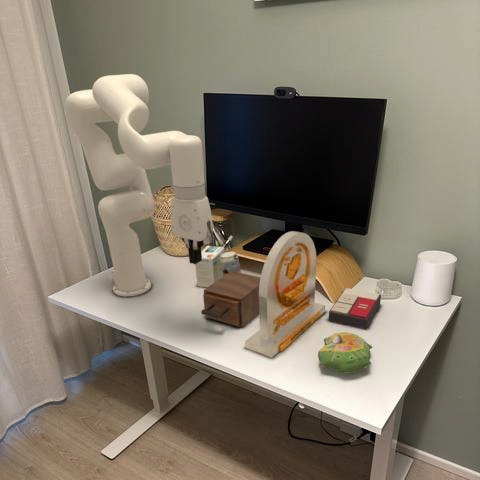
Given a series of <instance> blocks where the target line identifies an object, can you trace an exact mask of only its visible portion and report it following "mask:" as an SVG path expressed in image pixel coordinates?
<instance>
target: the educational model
mask: <svg viewBox="0 0 480 480" xmlns="http://www.w3.org/2000/svg"><path fill="white" fill-rule="evenodd" d="M323 342H324V343H323V344H324V346H323V347H322V348H320V349H319V350H318V354H317V357H318V361H319V365H320V366H322V367H324V368H326V369H330V370H332V371H336V372H339V373H345V374H350V373H357V372H360V371H362V370H364V369H365V368H367V367H368V366H370V365H371V364H372V361H371V356H372V354H371V349H372V348H373V346H372V345H371V344H369V343H368V342H367V341H366V340H365V339H364V338H362V337H361V336H359V335H357V334H354V333H351V332H347V331H344V332H336V333H334V334H331V335H330V336H328V337H325V338H323Z"/></svg>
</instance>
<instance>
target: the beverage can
mask: <svg viewBox="0 0 480 480" xmlns="http://www.w3.org/2000/svg"><path fill="white" fill-rule="evenodd" d="M220 264H221V268H222V273H223V276H225V275H226V274H228V273H229V272H230V271H234V272H239V273H242V269H241V264H240V259H239V255H238V254H237V253H236V252H235V251H226V252H225V253H223V254H222V255H221V258H220Z"/></svg>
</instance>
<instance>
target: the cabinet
mask: <svg viewBox="0 0 480 480" xmlns="http://www.w3.org/2000/svg"><path fill="white" fill-rule="evenodd" d="M260 278H261V276H258V275H257V276H256V275H252V274H249V273H243V272H241V273H239V272H234V271H230V272H229V273H228V274H226V275H225V276H223V277H222V278H220V279H219V280H217V281H216V282H214V283H213V284H212V285H210V286H209V287H205V288H203V295H204V294H205V293H207V294H213V295H217V296H221V297H225V298H229V299H233V300H237V301H239V306H240V325H239V326H237V327H238V328H244V327H245V326H246V325H247V324H249V322H251V321H252V320H253V319H254V318H255V317H256V316H258V315H259V285H260ZM209 319H211V318H209ZM211 320H212V319H211ZM216 321H217V322H219V321H218V320H216ZM223 323H224V324H226V323H225V322H223ZM230 325H231V326H233V325H232V324H230Z"/></svg>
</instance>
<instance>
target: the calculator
mask: <svg viewBox="0 0 480 480" xmlns="http://www.w3.org/2000/svg"><path fill="white" fill-rule="evenodd" d="M381 299H382V295H381V294H380V293H376V292H372V291H371V292H370V291H365V290H359V289H355V288H347V287H345V288H344V289H343V291H342V292H341V293H340V295H339V296H338V298H337V299H336V300H335V302H334V304H333V305H332V307H330V309H329V311H328V321H329V322H333V323H337V324H340V325H341V324H342V325H347V326H351V327H355V328H356V327H357V328H361V329H365V330H366V329H368V327H369V326H370V323H371V322H372V320H373V318H374V316H375V314H376V312H377V311H378V309H379V308H380V306H381Z"/></svg>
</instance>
